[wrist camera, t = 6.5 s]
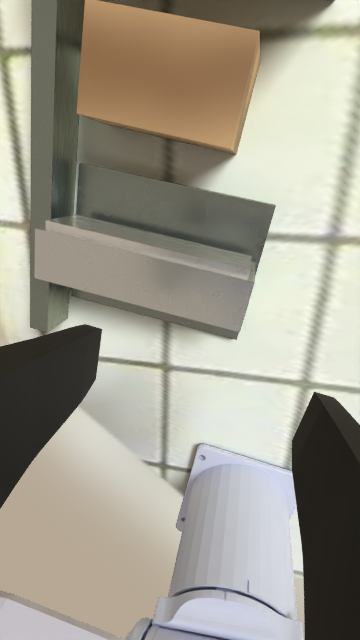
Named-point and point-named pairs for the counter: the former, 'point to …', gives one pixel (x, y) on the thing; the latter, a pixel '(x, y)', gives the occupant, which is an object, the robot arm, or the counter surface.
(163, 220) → the vise body
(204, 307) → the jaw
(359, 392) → the counter surface
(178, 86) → the block
